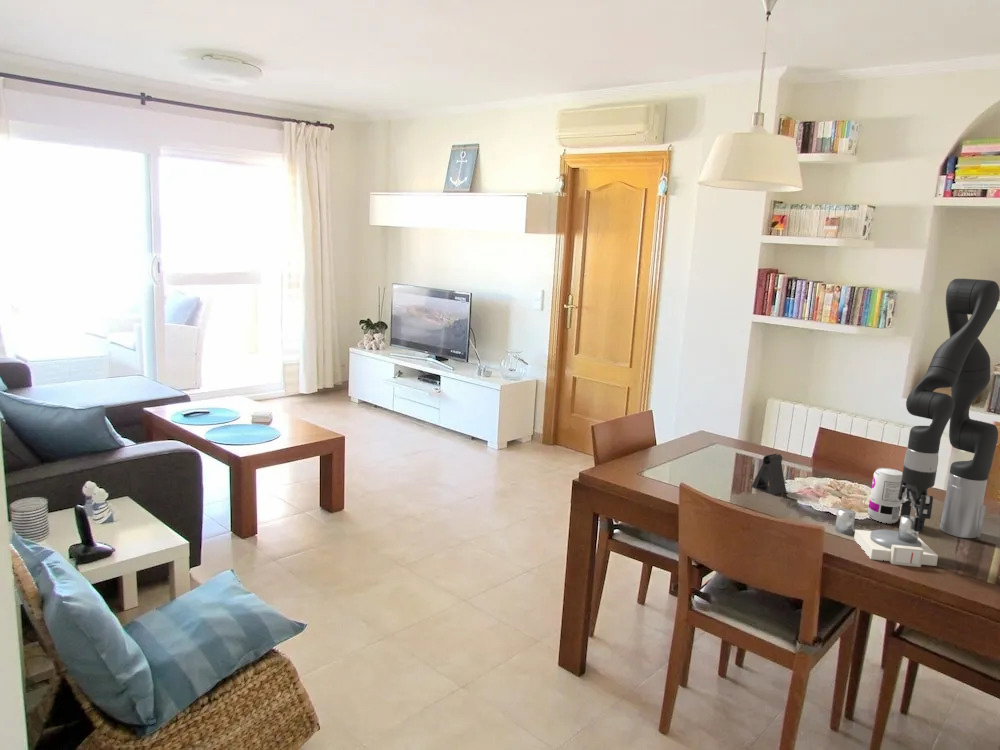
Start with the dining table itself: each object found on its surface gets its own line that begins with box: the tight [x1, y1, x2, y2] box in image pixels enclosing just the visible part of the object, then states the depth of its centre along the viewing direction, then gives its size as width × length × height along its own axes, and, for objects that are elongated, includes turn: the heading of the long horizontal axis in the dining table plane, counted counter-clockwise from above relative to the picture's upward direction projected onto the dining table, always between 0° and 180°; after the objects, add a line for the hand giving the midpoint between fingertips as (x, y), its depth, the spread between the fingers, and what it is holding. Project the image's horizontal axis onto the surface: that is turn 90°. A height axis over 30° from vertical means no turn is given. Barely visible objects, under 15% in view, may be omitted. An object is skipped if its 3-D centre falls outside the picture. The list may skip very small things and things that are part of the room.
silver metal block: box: [897, 515, 920, 543], centre depth 192 cm, size 5×5×6 cm
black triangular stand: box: [751, 453, 787, 496], centre depth 237 cm, size 9×6×12 cm, turn 34°
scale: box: [853, 529, 939, 568], centre depth 192 cm, size 16×15×5 cm
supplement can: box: [867, 467, 903, 525], centre depth 216 cm, size 8×8×15 cm
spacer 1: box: [834, 507, 857, 535], centre depth 206 cm, size 5×5×6 cm
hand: (910, 524), depth 192 cm, fingers open, 8 cm apart
